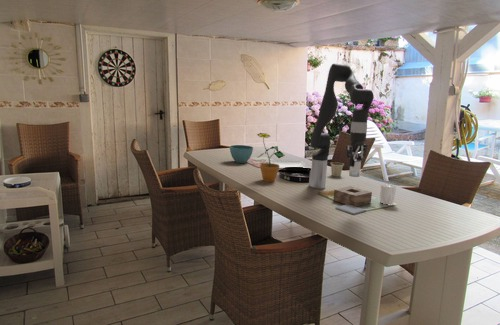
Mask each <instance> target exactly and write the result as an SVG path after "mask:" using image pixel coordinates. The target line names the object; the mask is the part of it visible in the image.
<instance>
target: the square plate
mask: <svg viewBox="0 0 500 325" xmlns="http://www.w3.org/2000/svg"><path fill="white" fill-rule="evenodd" d="M267 163H269V159H268V160H267ZM270 163H272V164H277V165H279V169H278V172H280V171H279V170H280V169H283V168H285V167H303V168H309V167H308V166H307V164H306V163H304V162H303V161H302V160H292V159H291V160H289V159H286V160H285V159H283V160H282V159H277V160H276V159H273V160H272V159H271V160H270Z"/></svg>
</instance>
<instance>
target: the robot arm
mask: <svg viewBox="0 0 500 325" xmlns="http://www.w3.org/2000/svg"><path fill="white" fill-rule="evenodd" d="M328 70H329V71H328V75H327V80H326V85H325V91H324V94H323V98H322V101H321V102H320V103H321V104H320V107H319V112H318V115H317V119H316V123H315V126H314V128H313V131H312V134H311V137H310V146H311V148H313V149H319V150H318V151H317V152H314V153H313V154H312V155H311V169H310V170H309V180H308V186H309V187H311V188H313V189H318V190H320V189H325V188H326V182H327V181H326V180H327V170H328V158H329V155H330V147H331V136H330V134H329V133H327V132H323V131H324V129H325V127H326V126H327V125H329V123H331V121H332V120H333V119H334V117H335V116H336V113H337V110H338V107H339V103H338V102H339V101H338V99H337V98H338V97H337V95H336V93H335V83H336V82H339V83H340V82H341V83H344V88H345V90H346V92H347V93H348V94H349V98H350V102H351V103H352V104H355V105H361V107H360V108H358V109H356V108H355V109H353V111H352V115H351V116H352V117H351V125H350V133H349V134H350V135H349V141H350V142H351V143H350V145H346V157H347V158H348V159H349V167H350V166H351V167H354V162H355V159H359V160H361V164H362V161H363V158H364V157H366V154H367V149H368V144H365V142H366V141H367V134H368V133H367V131H368V130H367V129H368V118H369V117H368V116H369V111H370V109H371V106H372V104H373V102H374V96H375V95H374V92H373V91H372V90H371V89H366V88H364V86H363V85H362V83H360V82H359V81H358V79H357V78H356V76H355V73H354V72H353V70H352V68H351V67H350V66H349V65H348V64H342V63H332V64H331V65H330V68H329V69H328Z"/></svg>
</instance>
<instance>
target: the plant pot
mask: <svg viewBox="0 0 500 325" xmlns="http://www.w3.org/2000/svg"><path fill="white" fill-rule="evenodd" d="M229 150H230V155H231V158H232V160H234V162H235V163H237V164H245V163H247V162H248V161H249V160H250V158H251V157H252V154H253V152H254V147H253V146H250V145H245V144H244V145H242V144H234V145H230V146H229Z"/></svg>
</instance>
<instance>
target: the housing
mask: <svg viewBox="0 0 500 325" xmlns="http://www.w3.org/2000/svg"><path fill="white" fill-rule="evenodd" d="M372 193H373V192H372V191H368V190H365V189H363V188H358V187H354V186H351V185H350V186H345V187H339V188H335V189H333V198H332V199H333V202H338V203H341V202H343V203H342V204H344V203H346V204H349V205H353V206H357V207H359V206H358V205H361V206H363V205H362V204H365V203H369V202H371V203H372V196H373V194H372ZM346 204H345V205H346ZM369 204H370V203H369ZM365 205H366V204H365Z"/></svg>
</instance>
